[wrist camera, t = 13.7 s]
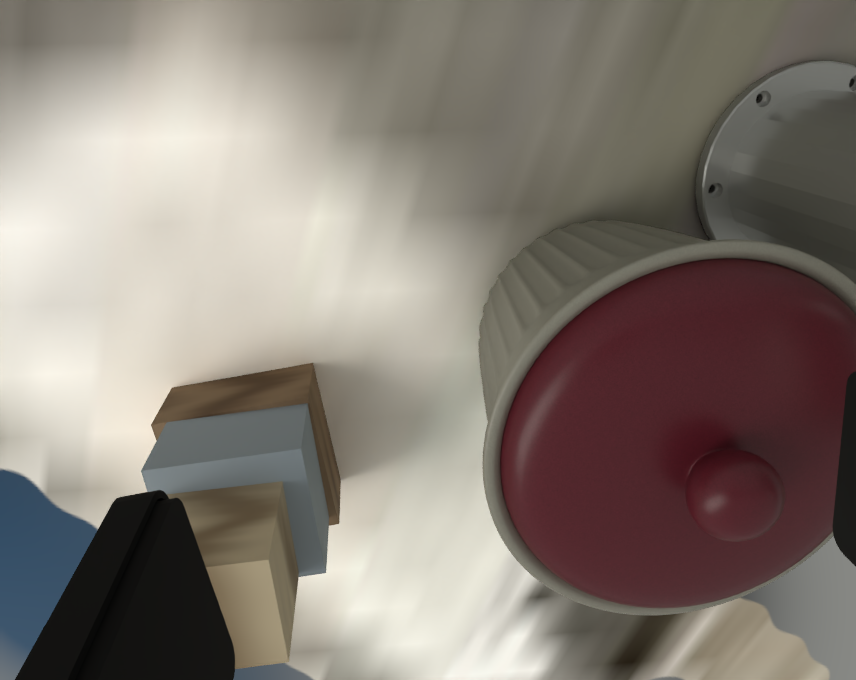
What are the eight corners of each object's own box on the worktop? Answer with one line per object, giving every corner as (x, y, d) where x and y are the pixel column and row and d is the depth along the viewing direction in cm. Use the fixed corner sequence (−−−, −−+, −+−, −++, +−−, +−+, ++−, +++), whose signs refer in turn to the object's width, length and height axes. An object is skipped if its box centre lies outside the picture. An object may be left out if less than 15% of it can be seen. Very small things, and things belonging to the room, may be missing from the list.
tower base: (313, 361, 43) (308, 396, 39) (340, 478, 47) (339, 523, 42) (172, 386, 43) (151, 425, 39) (211, 502, 47) (195, 550, 42)
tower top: (307, 403, 39) (301, 448, 34) (329, 517, 42) (325, 572, 37) (166, 422, 39) (141, 470, 34) (198, 535, 42) (179, 594, 37)
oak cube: (282, 481, 35) (268, 559, 29) (298, 573, 37) (288, 662, 32) (164, 494, 35) (127, 576, 29) (188, 586, 37) (158, 678, 31)
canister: (726, 163, 41) (1061, 252, 22) (700, 424, 48) (935, 670, 29) (429, 187, 40) (500, 305, 20) (446, 452, 47) (511, 729, 27)
